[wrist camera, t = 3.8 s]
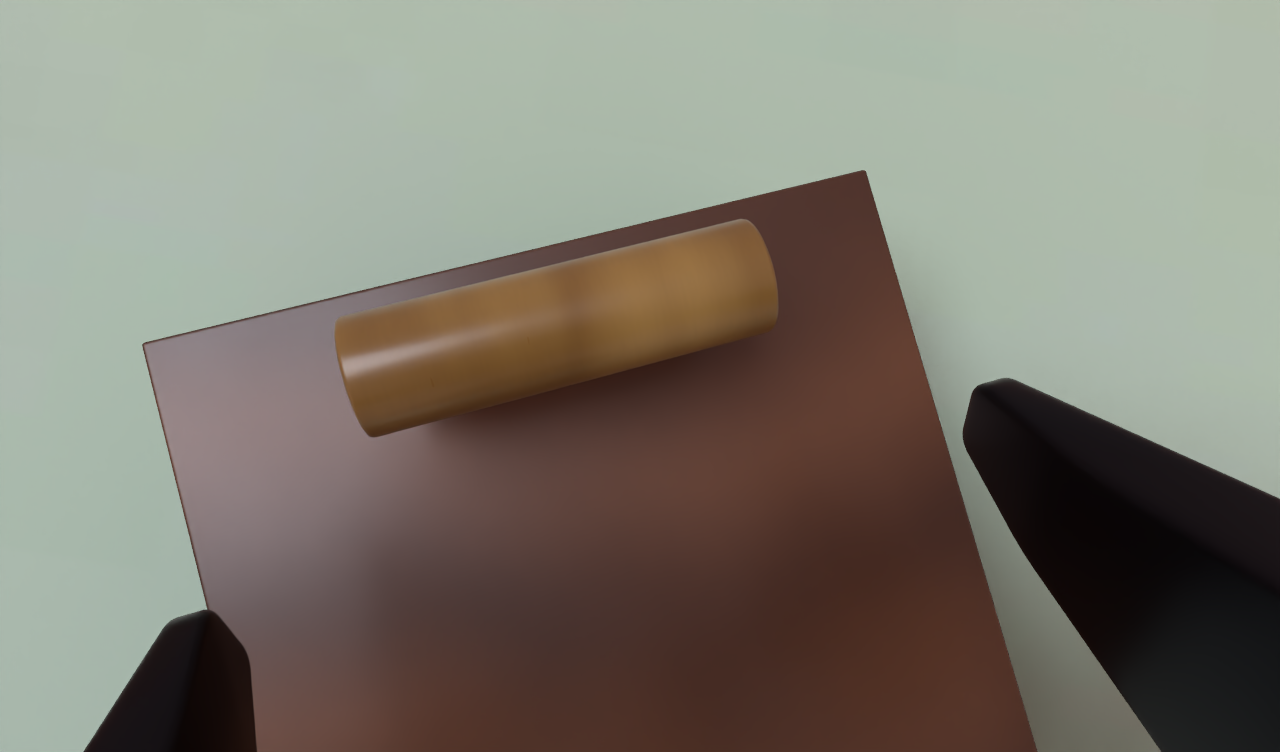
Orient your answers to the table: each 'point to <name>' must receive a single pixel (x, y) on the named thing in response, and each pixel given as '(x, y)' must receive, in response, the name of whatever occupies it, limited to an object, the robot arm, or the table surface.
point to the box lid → (597, 501)
